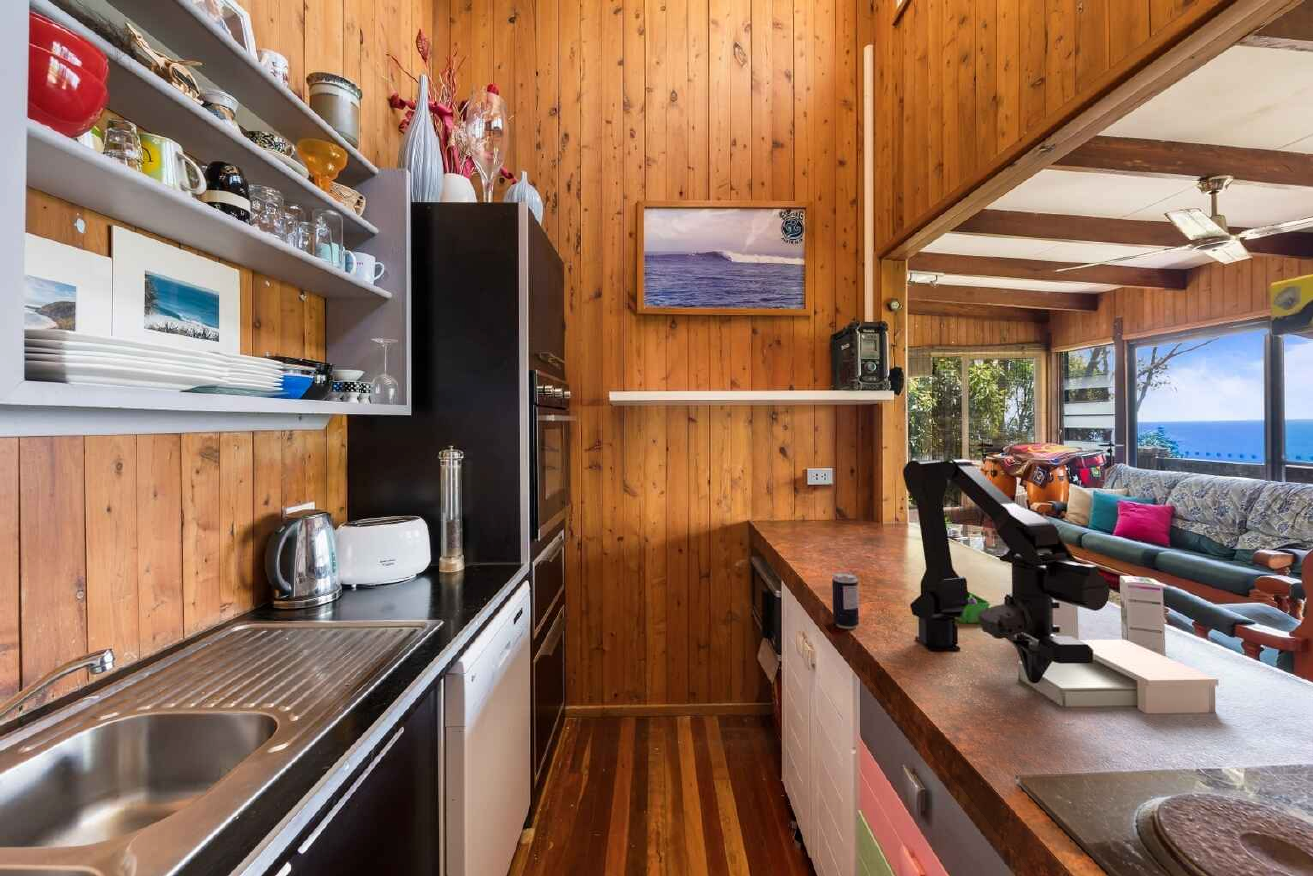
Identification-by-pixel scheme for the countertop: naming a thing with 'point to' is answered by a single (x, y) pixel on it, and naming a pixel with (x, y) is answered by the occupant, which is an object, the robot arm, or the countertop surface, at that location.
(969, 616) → the fruit basket
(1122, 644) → the overhang
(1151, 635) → the syrup box
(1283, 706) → the countertop surface
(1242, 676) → the countertop surface
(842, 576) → the beverage can
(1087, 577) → the robot arm
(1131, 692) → the cream rectangular slab
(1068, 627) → the milk carton
